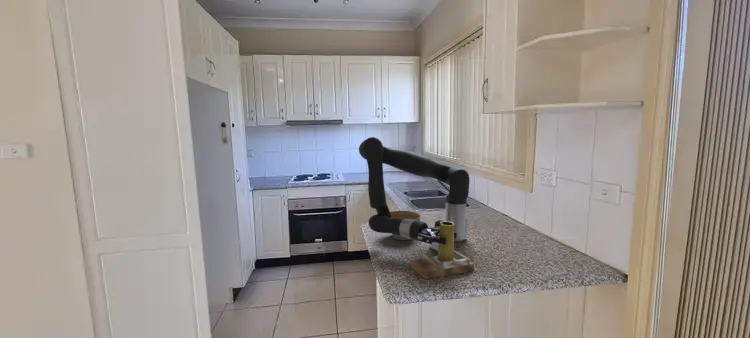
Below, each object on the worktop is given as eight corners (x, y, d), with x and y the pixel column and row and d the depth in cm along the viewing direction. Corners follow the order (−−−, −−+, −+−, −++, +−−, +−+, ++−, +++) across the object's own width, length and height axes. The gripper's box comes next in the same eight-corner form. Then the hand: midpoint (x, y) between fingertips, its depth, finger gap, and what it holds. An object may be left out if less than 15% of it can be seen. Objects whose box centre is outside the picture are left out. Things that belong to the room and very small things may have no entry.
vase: (435, 257, 127) (436, 220, 125) (451, 256, 128) (452, 220, 126) (439, 264, 121) (441, 225, 119) (456, 263, 122) (458, 225, 120)
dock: (455, 259, 132) (456, 248, 132) (473, 270, 122) (474, 258, 122) (410, 266, 125) (411, 255, 124) (425, 279, 115) (426, 266, 114)
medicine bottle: (439, 252, 139) (440, 224, 138) (429, 247, 145) (430, 220, 144) (453, 250, 142) (454, 222, 141) (442, 244, 149) (443, 218, 147)
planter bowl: (386, 243, 150) (387, 219, 148) (384, 231, 166) (384, 210, 164) (422, 243, 150) (423, 219, 149) (416, 231, 166) (417, 210, 165)
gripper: (403, 224, 126) (442, 233, 116) (422, 216, 137) (460, 224, 127) (403, 243, 127) (442, 254, 117) (422, 234, 138) (459, 243, 128)
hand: (451, 238), depth 122 cm, fingers open, 8 cm apart
